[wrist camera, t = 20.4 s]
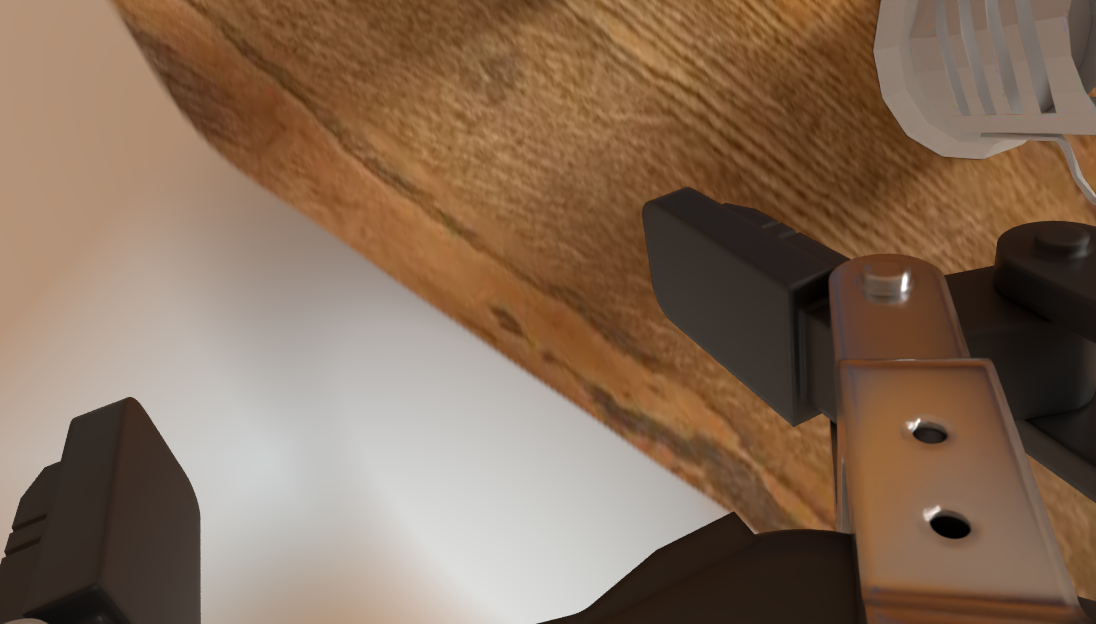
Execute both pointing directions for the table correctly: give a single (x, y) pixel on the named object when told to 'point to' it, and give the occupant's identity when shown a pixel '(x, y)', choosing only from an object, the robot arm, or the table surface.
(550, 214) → the table surface
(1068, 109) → the french press
